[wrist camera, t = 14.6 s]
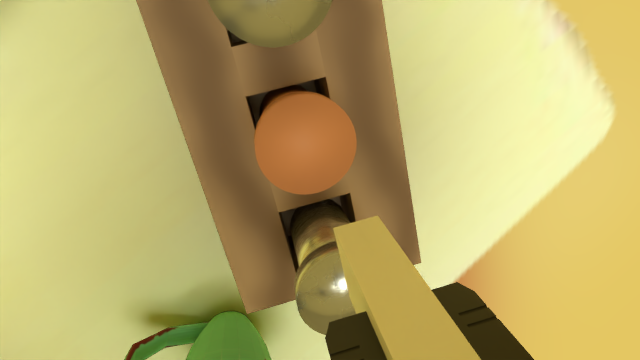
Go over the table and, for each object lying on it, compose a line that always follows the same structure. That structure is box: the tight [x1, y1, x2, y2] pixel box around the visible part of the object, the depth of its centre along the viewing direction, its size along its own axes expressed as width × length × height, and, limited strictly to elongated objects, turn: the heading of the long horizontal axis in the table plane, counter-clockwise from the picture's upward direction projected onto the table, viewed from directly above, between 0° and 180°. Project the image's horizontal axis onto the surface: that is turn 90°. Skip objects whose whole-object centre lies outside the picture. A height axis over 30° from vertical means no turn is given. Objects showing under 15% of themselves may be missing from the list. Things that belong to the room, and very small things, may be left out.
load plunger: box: [254, 85, 357, 195], centre depth 31 cm, size 6×6×11 cm
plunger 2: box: [290, 199, 356, 335], centre depth 32 cm, size 6×6×11 cm
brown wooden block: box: [136, 0, 421, 314], centre depth 36 cm, size 16×30×8 cm, turn 13°
